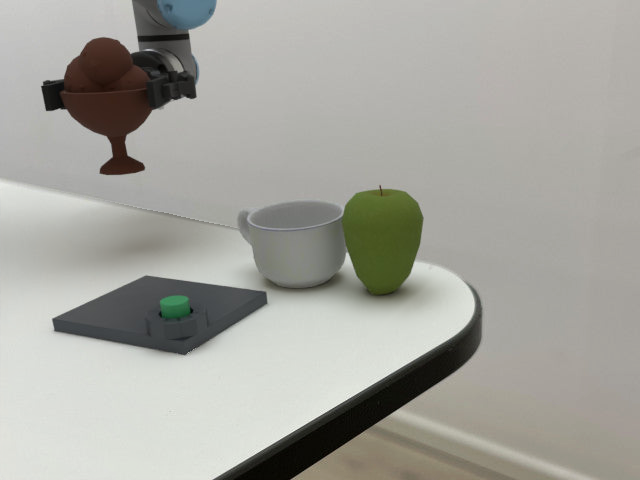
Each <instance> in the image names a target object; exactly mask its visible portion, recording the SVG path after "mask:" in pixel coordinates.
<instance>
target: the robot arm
mask: <svg viewBox="0 0 640 480" xmlns="http://www.w3.org/2000/svg"><path fill="white" fill-rule="evenodd" d="M217 2H218V1H217V0H131V5H132V12H133V17H134V23H135V30H136V38H137V45H138V51H134V52H130V54H131V57H132V59H133V65H135V66H138V67H140V68H141V69H142V70H143V71H144V72H146V73H147V74H148V77H149V78H150V81H147V82H146V87H147V94H148V101H149V107H153V109H152V111H155V110H159V111H162V110H164V109H165V106H166V105H168V104H169V103H172V102H174V101H178V100H181V99H183V98H186V99H189V100H194V99H196V98H197V96H198V95H197V87H196V86H197V84H198V82H199V80H200V79H199V78H200V66H199V62H198V61H197V59H196V57H195V55H194V54H193V53H192V44H191V38H190V32H189V30H191V31H192V30H194V29H195V30H196V29H197V28H199V27H201V26H204V25H206V24H207V22H209V20H210V19H212V18H213V16H214V14H215V11H216V8H217ZM40 88H41V93H42V98H43V103H44V108H45V112H53V111H57V110H59V109H60V111H61V110H62V111H63V110H64V111H65V110H66V111H67V109H66V108H65V106H64V104H63V101H62V99H61V96H60V92H62V91H63V90H65V88H64V78H60V79H59V78H58V79H53V80H50V79H46V80H43V81H42V85H40Z"/></svg>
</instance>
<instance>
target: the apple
mask: <svg viewBox="0 0 640 480" xmlns="http://www.w3.org/2000/svg"><path fill="white" fill-rule="evenodd" d="M378 188H379V189H369V190H364V191H363V190H362V191H359V192H355V194H353V196H352V197H351V198H349V200H348V201H346V204H345V205H344V213H343V217H342V221H341V222H342V227H343V233H344V238H345V243H346V251H347V253H348V256H349V259H350V261H351V264H352V267H353V270H354V273H355V276H356V277H357V278H358V280H359V281H360V282H361V283H362V284H363V286H364V287H365V288H366V290H367V291H368V292H369V293H370V295H374V296H381V295H382V296H383V295H388V294H391V293H393V292H395V291H398V289H399V288H400V287H402V285H403V284H404V283H405V281H406V280H407V279H409V277H410V276H411V273H412V270H413V268H414V264H415V262H416V258H417V255H418V252H419V249H420V246H421V242H422V241H421V240H422V235H423V234H422V233H423V225H424V215H423V212H422V210H421V207H420V205H419V202H418V201H417V200H416V199H415V198H413V197H412V196H411V195H410V194H409V193H408V192H407V191H404V190H400V189H393V188H382V185H381V184H379V185H378Z"/></svg>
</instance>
